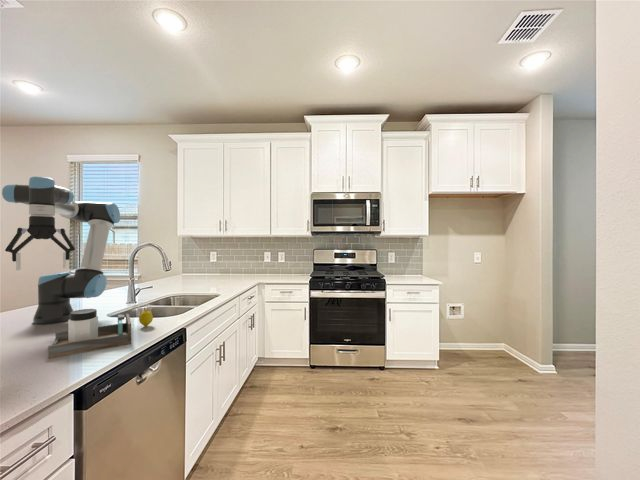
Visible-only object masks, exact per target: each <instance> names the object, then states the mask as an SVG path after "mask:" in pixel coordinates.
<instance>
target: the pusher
mask: <svg viewBox="0 0 640 480" xmlns="http://www.w3.org/2000/svg"><path fill="white" fill-rule="evenodd" d="M123 320H125V315H124V314H117V324H118V335H121V334H122V323H123Z"/></svg>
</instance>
